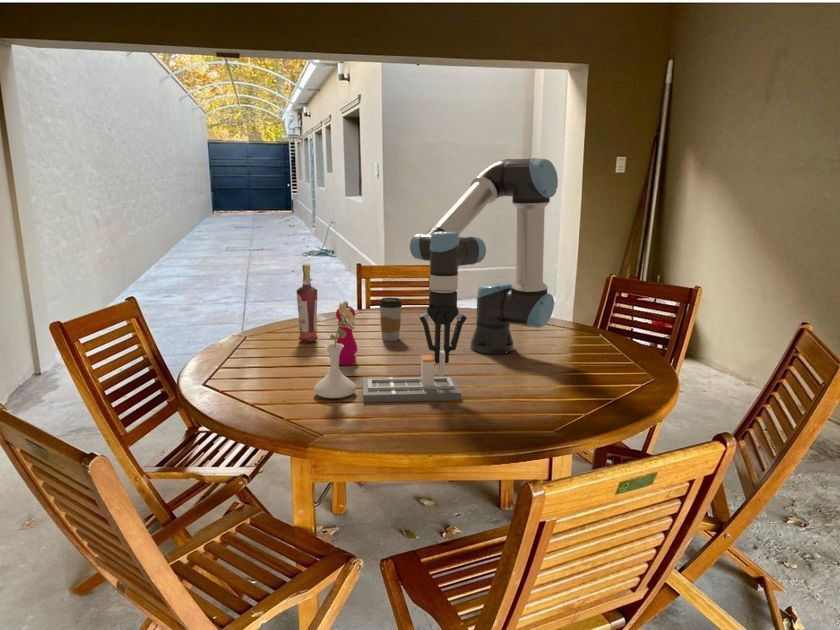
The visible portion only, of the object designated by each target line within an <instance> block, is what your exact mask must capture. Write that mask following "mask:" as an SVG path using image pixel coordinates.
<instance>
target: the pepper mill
mask: <svg viewBox="0 0 840 630" xmlns="http://www.w3.org/2000/svg"><path fill="white" fill-rule="evenodd" d="M343 303H345V304H346V307H347V308H350V310H351V313H352V314H353V316H354V317H355V318H356V311H355V308H353V307H352V306H351V305H349V303H348V301H346V300H344V301H343V302H342V304H343ZM335 312H336V313H335V316H336V319H337V320H338V321H337V326H338V327H339V324H340V322H341V320H342V318H341V316H340V313H339V307H337V309H336V311H335ZM339 329H342V330H344V331H345V332H346V336H345V337H344V338H341V337H340V336H339V335H338V337H339V338H338V339H337V340H336V343H339V344H343V345H344V347H343V348H342V350H341V352H340V356H339V365H341V366H347V365H353V364H355V363H356V362H357V356H356V355H355V354H356V353H357V352H358V345H357V342H356V340H355V338H354V334H353V330H352V329H350V328H347V326H346V325H345V324H344V322H343V321H342V323H341V325H340V328H339Z"/></svg>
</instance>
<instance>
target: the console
mask: <svg viewBox="0 0 840 630" xmlns="http://www.w3.org/2000/svg"><path fill="white" fill-rule="evenodd" d="M362 398H363V399H362V401H363V403H387V402H389V403H390V402H391V403H393V402H396V403H397V402H430V401H431V402H433V401H436V402H437V401H461V400H462V391H461V389H460V388H459V385H458V384H457V381H456V380H455V378H454V376H453V375H447V376H446V375H445V376H439V375H437V376H435V375H434V385H430V386H422V383H421V376H388V377H385V376H384V377H383V376H382V377H362Z"/></svg>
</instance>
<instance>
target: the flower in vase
mask: <svg viewBox="0 0 840 630" xmlns="http://www.w3.org/2000/svg"><path fill="white" fill-rule="evenodd" d="M338 308H339V313H340V316H341V318H342V320H341V322H340V324H339V326H338V327H337V330H336V334H335V335H332V334H330V337H329V340H330V341H334V342H333V343H328V344H327V343H326V344H325V345H324V347H325V348H326V350H327V352H328V355H329V360H330V369H329V372H328V374H327V375H325V376H324V377H322V379H320V380H319V381H318V382H317V383H316V384H315V386H314V387H313V392H314V393H315V394H316V395H317V396H319V397H321V398H324V399H325V398H327V399H342V398H347V397H348V396H351V395H353V394H354V393H355V392H356V390H357V386H356V384H355V383H354V382H353V381H352V380H351V379H349V378H348V377H347V376H346V375H344V374H343V373H342V372H341V370H340V364H339V356H340V352H341V350H342V348H343V347H344V345H343V344H339V343H336V342H337V340H338V338H339V336H340V337H341V338H344V337H345V336H346V332H345V331H344V330H342V329H339V328H340V325H341V323H342V321H343V322H344V324H345V325H346V326H347V328H350V329H352V331H353V330H356V328H355V327H356V326H357V323H356V316H355V317H354V316H353V314H352V313H351V310H350V308H347V307H346V304H345V303H343V302H340V303H339V305H338Z"/></svg>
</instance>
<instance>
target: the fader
mask: <svg viewBox="0 0 840 630" xmlns="http://www.w3.org/2000/svg"><path fill="white" fill-rule="evenodd" d="M434 376H435V361H434V356H433V354H420V377H421V383H422V386H430V385H434Z"/></svg>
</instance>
